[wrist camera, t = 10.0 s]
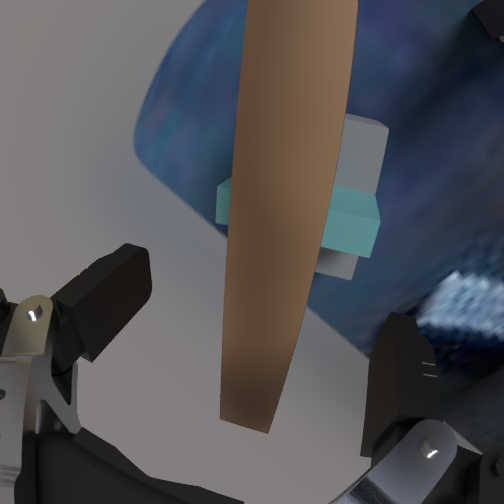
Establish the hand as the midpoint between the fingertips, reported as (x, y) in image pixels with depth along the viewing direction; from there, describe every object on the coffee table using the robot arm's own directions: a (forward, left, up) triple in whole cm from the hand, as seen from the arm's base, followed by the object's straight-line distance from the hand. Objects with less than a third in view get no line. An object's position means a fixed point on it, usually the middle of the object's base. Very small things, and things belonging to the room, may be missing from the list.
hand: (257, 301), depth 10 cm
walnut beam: (0, 0, -6) cm, 6 cm away
